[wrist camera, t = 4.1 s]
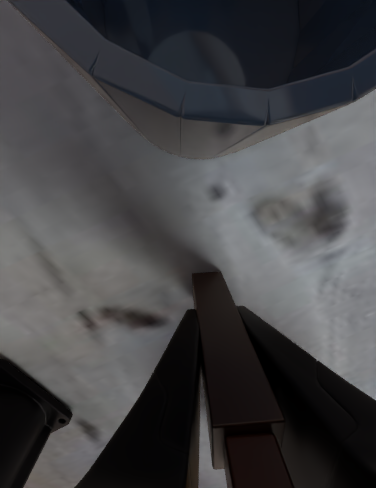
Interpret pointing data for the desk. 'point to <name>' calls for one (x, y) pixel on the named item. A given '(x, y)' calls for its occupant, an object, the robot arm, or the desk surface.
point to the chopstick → (237, 393)
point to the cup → (214, 63)
